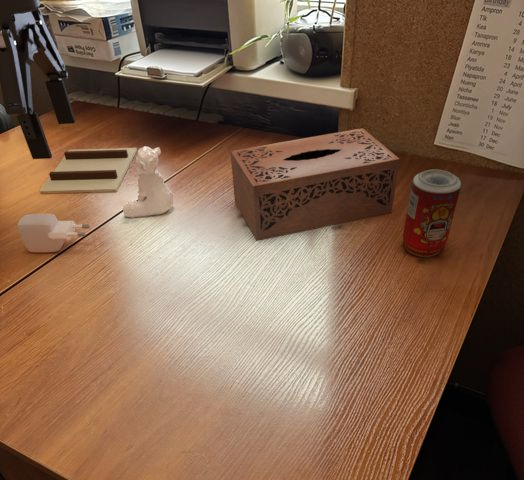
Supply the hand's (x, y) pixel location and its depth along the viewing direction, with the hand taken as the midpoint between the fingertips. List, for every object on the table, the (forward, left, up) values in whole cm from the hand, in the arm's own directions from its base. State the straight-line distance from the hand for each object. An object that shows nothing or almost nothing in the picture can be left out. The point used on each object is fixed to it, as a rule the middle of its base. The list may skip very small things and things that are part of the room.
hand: (55, 139), depth 80 cm
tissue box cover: (+41, +7, -17) cm, 45 cm away
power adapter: (-3, -5, -17) cm, 18 cm away
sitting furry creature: (+11, +8, -17) cm, 22 cm away
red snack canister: (+59, -7, -17) cm, 62 cm away
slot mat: (-6, +25, -17) cm, 30 cm away
